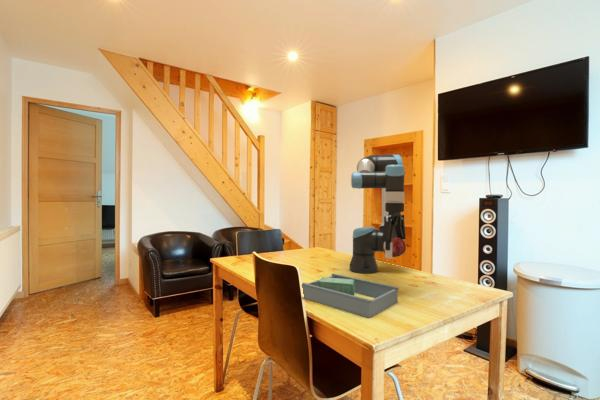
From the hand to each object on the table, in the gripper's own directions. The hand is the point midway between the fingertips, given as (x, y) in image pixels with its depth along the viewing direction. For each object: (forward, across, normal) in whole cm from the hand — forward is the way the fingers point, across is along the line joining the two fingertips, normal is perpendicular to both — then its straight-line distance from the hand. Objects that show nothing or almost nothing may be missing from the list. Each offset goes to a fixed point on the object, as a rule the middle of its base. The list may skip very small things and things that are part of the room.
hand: (394, 256), depth 130 cm
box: (+16, +22, -13) cm, 30 cm away
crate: (+15, +20, -9) cm, 27 cm away
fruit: (0, 0, 0) cm, 0 cm away
